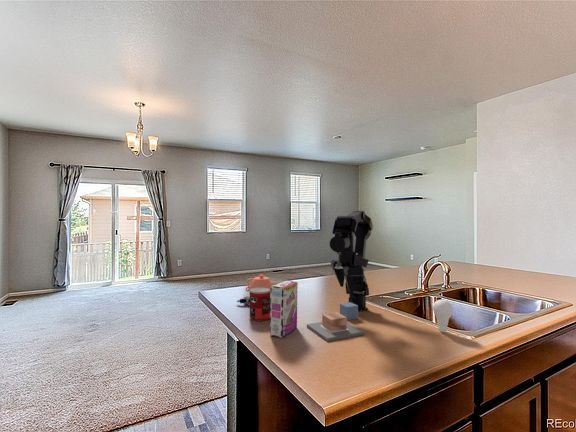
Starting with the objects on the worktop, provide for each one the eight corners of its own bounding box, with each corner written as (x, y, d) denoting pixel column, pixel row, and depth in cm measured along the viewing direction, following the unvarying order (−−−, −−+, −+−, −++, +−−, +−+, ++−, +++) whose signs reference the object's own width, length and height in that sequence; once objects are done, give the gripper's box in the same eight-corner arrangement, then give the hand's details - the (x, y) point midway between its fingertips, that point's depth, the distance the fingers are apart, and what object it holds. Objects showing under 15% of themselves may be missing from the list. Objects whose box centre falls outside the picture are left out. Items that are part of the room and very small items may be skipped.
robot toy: (235, 307, 137) (260, 311, 128) (234, 297, 137) (260, 300, 128) (253, 301, 147) (278, 304, 138) (253, 292, 147) (278, 294, 138)
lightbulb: (445, 336, 101) (445, 303, 101) (428, 330, 107) (428, 298, 107) (457, 333, 104) (457, 300, 104) (440, 327, 110) (440, 296, 110)
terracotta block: (337, 323, 111) (337, 312, 111) (346, 329, 105) (346, 317, 105) (322, 325, 108) (322, 314, 108) (331, 331, 103) (331, 319, 103)
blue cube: (350, 314, 124) (350, 302, 124) (358, 318, 120) (358, 305, 120) (339, 316, 122) (339, 303, 122) (347, 320, 118) (347, 307, 118)
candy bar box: (283, 339, 100) (283, 287, 100) (269, 336, 102) (269, 286, 102) (298, 327, 110) (298, 281, 110) (285, 325, 112) (285, 280, 112)
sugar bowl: (272, 298, 149) (273, 277, 149) (243, 298, 149) (243, 277, 149) (274, 292, 161) (274, 272, 161) (247, 292, 161) (247, 272, 161)
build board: (340, 321, 116) (340, 318, 116) (363, 334, 103) (363, 331, 103) (306, 327, 110) (306, 323, 110) (327, 341, 98) (327, 338, 98)
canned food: (249, 315, 124) (249, 287, 124) (270, 314, 124) (270, 287, 124) (249, 321, 116) (249, 292, 116) (270, 321, 117) (270, 291, 117)
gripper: (377, 251, 111) (377, 294, 111) (355, 245, 129) (356, 282, 129) (347, 252, 108) (348, 296, 109) (330, 246, 127) (330, 284, 127)
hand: (346, 289), depth 119 cm, fingers open, 9 cm apart
